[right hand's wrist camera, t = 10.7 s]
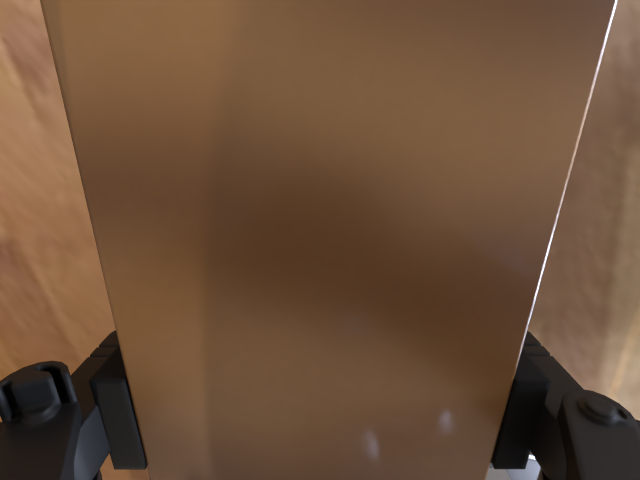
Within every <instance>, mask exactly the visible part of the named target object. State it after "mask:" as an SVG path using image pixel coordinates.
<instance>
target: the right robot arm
mask: <svg viewBox="0 0 640 480" xmlns="http://www.w3.org/2000/svg"><path fill="white" fill-rule="evenodd" d="M0 416H1V419H2V421H3V422H0V480H102V475H101V471H100V467H101V466H102V464H103V462H104V461H105V459H106V457H107V456H108V454H109V453H110V456H111V459H112V463H113V466H114V469H146V467H147V462H146V458H145V453H144V449H143V445H142V440H141V436H140V432H139V427H138V423H137V419H136V414H135V410H134V406H133V401H132V397H131V393H130V388H129V384H128V380H127V375H126V371H125V367H124V362H123V358H122V354H121V349H120V345H119V341H118V336H117V332H116V330H115V331H113V332H112V333H110V334H109V335H108V336H107V337H106V338H105V340H104V341H103V342H102V343H101V344H100V345H99V348H96V349H95V350H94V351H93V352H92V353H91V355H90V357H88V358H87V359H86V360H85V361H84V362H83V363H82V364H81V365H80V366H79V367H78V368H77V370H76V371H75V372H74V373H73V374H72V375H71V376H70V373H69V370H68V367H67V365H65V364H64V363H62V362H57V361H47V362H40V363H36V364H33V365H30V366H27V367H24V368H22V369H20V370H18V371H16V372H14V373H12V374H10V375H8V376H7V377H6V378H4V379H3V380H1V381H0ZM486 480H640V421H638V420H635V419H634V418H633V416H632V415H631V413H630V412H629V411H627V410H626V409H625V408H624V407H623V406H621V405H620V404H619V403H617V402H615V401H614V400H612V399H610V398H608V397H606V396H604V395H602V394H599V393H596V392H593V391H589V390H584V389H583V388H582V387H581V386H580V385H579V384H578V383H577V382H576V381H575V380H574V379H573V378H572V377H571V376H570V374H569V373H568V372H567V371H566V370H565V369H564V368H563V367H562V366H561V365H560V364H559V363H558V362H557V361H556V360H555V359H554V357H553V356H550V353H549V352H548V351H547V350H546V349H545V348H544V347H543V346H541V344H540V343H539V341H538V340H537V339H536V338H535V337H534V336H533V335H532V334H531V333H530V332H528V331H527V333H526V336H525V340H524V343H523V347H522V351H521V354H520V358H519V362H518V365H517V369H516V373H515V376H514V380H513V383H512V387H511V391H510V394H509V398H508V402H507V405H506V409H505V413H504V416H503V420H502V424H501V427H500V431H499V434H498V438H497V442H496V445H495V449H494V453H493V456H492V460H491V464H490V467H489V471H488V474H487V478H486Z"/></svg>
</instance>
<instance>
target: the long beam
mask: <svg viewBox="0 0 640 480" xmlns="http://www.w3.org/2000/svg"><path fill="white" fill-rule="evenodd" d="M617 1H618V0H40V3H41V7H42V11H43V16H44V20H45V24H46V29H47V33H48V37H49V42H50V46H51V50H52V55H53V59H54V63H55V68H56V72H57V76H58V81H59V85H60V89H61V94H62V98H63V102H64V107H65V111H66V115H67V120H68V124H69V128H70V133H71V137H72V141H73V146H74V150H75V154H76V159H77V163H78V167H79V172H80V176H81V180H82V185H83V189H84V193H85V198H86V202H87V206H88V211H89V215H90V219H91V224H92V228H93V232H94V237H95V241H96V245H97V250H98V254H99V258H100V263H101V267H102V271H103V276H104V280H105V284H106V289H107V293H108V297H109V302H110V306H111V310H112V315H113V319H114V323H115V328H116V332H117V336H118V341H119V345H120V349H121V354H122V358H123V362H124V367H125V371H126V375H127V380H128V384H129V388H130V393H131V397H132V401H133V406H134V410H135V414H136V419H137V423H138V427H139V432H140V436H141V440H142V445H143V449H144V453H145V458H146V462H147V466H148V471H149V475H150V479H151V480H486V478H487V474H488V471H489V467H490V464H491V460H492V456H493V453H494V449H495V445H496V442H497V438H498V434H499V431H500V427H501V424H502V420H503V416H504V413H505V409H506V405H507V402H508V398H509V394H510V391H511V387H512V383H513V380H514V376H515V373H516V369H517V365H518V362H519V358H520V354H521V351H522V347H523V343H524V340H525V336H526V333H527V329H528V325H529V322H530V318H531V314H532V311H533V307H534V303H535V300H536V296H537V293H538V289H539V285H540V282H541V278H542V274H543V271H544V267H545V263H546V260H547V256H548V252H549V249H550V245H551V242H552V238H553V234H554V231H555V227H556V223H557V220H558V216H559V212H560V209H561V205H562V202H563V198H564V194H565V191H566V187H567V183H568V180H569V176H570V172H571V169H572V165H573V161H574V158H575V154H576V151H577V147H578V143H579V140H580V136H581V132H582V129H583V125H584V121H585V118H586V114H587V111H588V107H589V103H590V100H591V96H592V92H593V89H594V85H595V81H596V78H597V74H598V71H599V67H600V63H601V60H602V56H603V52H604V49H605V45H606V41H607V38H608V34H609V30H610V27H611V23H612V20H613V16H614V12H615V9H616V5H617Z"/></svg>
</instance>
